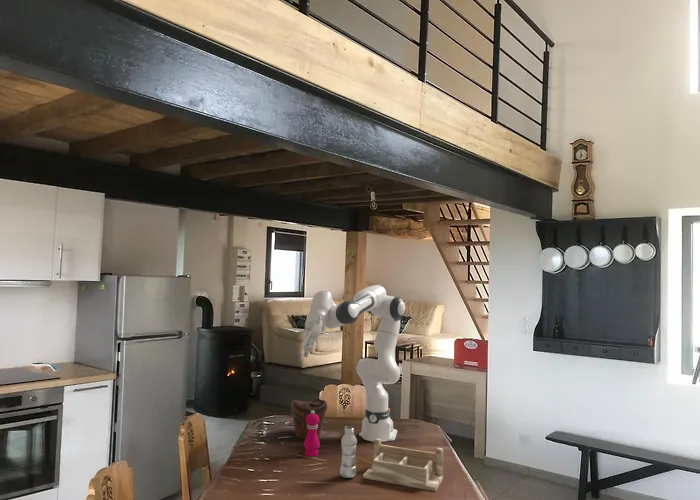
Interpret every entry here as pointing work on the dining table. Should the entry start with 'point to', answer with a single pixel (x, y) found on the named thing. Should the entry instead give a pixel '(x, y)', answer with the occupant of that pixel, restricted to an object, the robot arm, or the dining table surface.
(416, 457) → the wooden compartment rack
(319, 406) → the brown flower pot
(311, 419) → the magenta pepper grinder
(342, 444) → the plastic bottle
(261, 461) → the dining table surface
